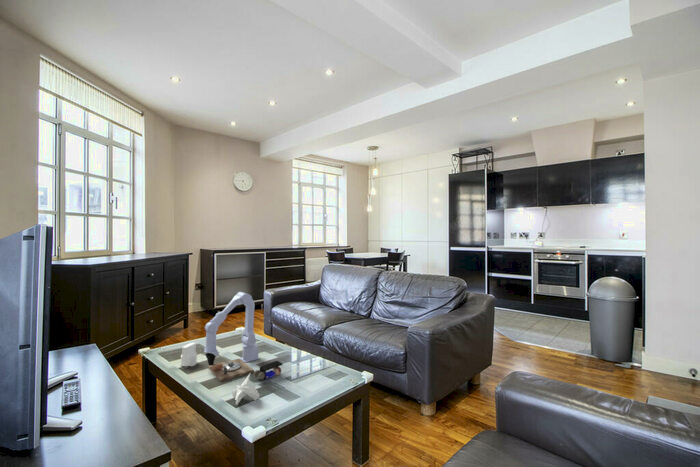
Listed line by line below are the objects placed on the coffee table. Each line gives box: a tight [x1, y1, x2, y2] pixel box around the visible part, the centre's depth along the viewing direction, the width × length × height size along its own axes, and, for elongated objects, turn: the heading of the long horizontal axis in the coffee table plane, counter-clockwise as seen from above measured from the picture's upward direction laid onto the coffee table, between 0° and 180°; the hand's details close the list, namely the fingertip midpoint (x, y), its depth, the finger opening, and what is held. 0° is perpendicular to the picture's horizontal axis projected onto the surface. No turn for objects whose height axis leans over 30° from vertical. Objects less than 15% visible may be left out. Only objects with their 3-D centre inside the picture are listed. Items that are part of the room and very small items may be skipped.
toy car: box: [253, 360, 284, 383], centre depth 183 cm, size 7×8×15 cm
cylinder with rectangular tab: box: [180, 342, 198, 367], centre depth 203 cm, size 9×9×12 cm
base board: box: [207, 358, 255, 382], centre depth 194 cm, size 19×23×5 cm
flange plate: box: [213, 362, 240, 372], centre depth 193 cm, size 16×11×3 cm
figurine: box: [232, 373, 260, 406], centre depth 159 cm, size 14×11×13 cm
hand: (211, 365), depth 195 cm, fingers closed
